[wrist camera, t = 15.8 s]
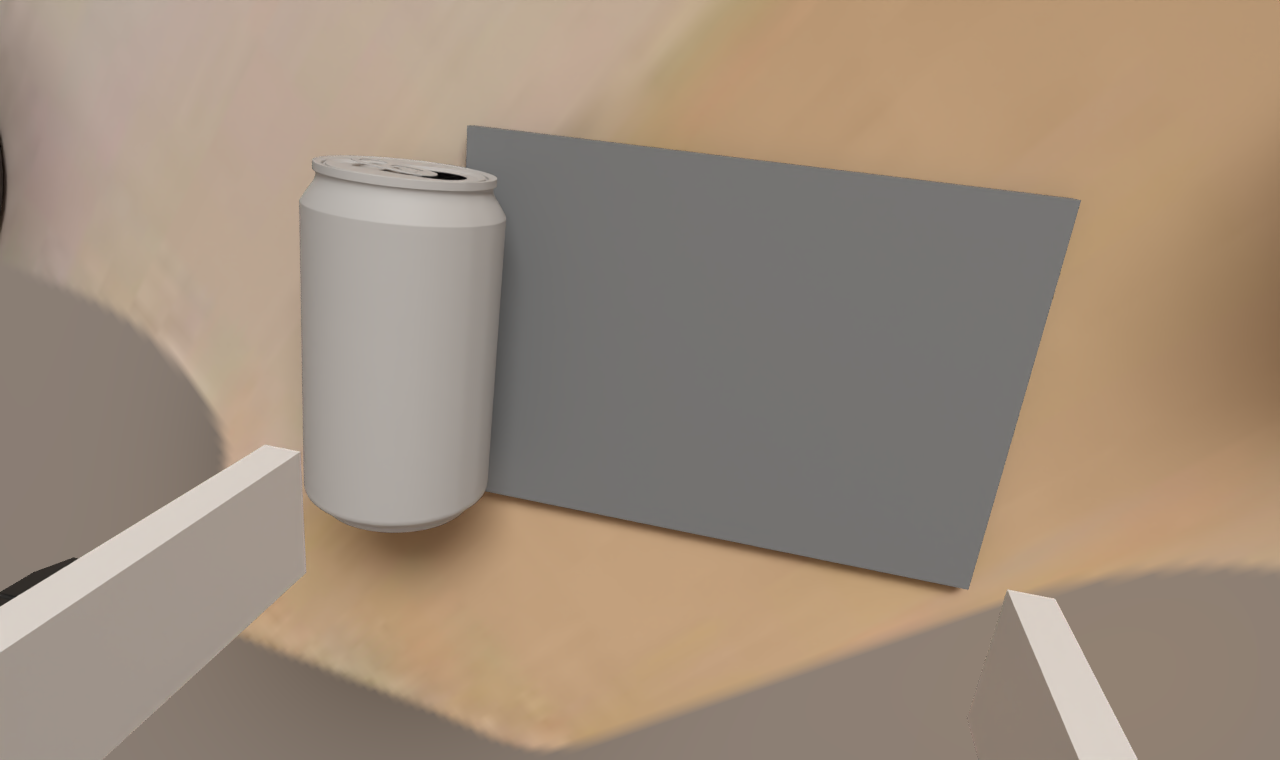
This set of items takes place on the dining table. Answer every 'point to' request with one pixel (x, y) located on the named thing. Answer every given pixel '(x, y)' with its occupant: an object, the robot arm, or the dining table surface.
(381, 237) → the beverage can
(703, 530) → the mat
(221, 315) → the dining table surface
